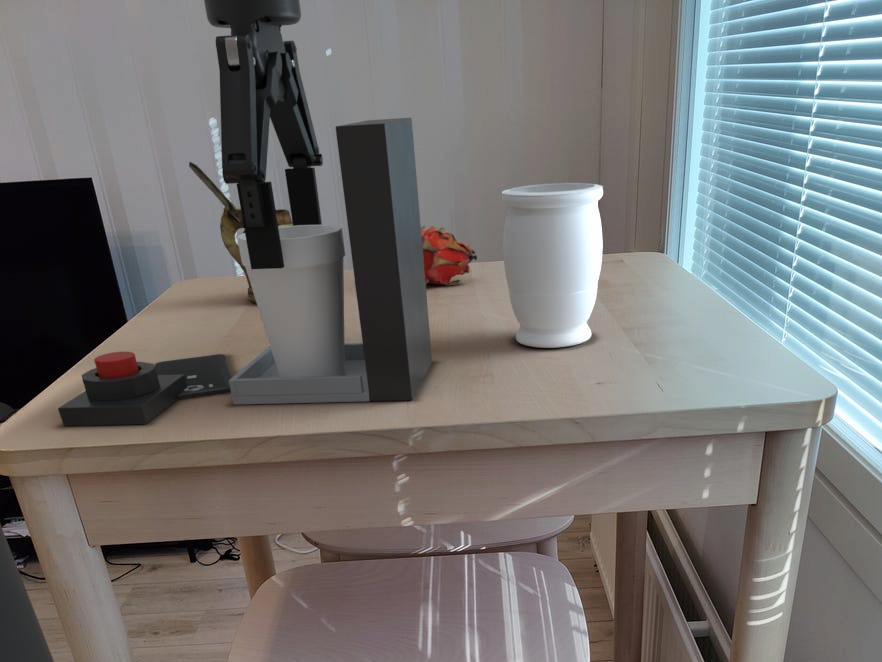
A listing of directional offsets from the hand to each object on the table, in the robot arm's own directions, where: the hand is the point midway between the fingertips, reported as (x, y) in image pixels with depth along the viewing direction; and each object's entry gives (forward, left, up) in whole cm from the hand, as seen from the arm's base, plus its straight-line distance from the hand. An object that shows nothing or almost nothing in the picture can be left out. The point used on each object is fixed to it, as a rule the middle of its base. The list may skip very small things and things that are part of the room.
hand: (290, 255), depth 80 cm
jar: (+24, +14, -12) cm, 30 cm away
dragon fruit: (+6, +49, -12) cm, 51 cm away
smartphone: (-14, +3, -13) cm, 19 cm away
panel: (-16, -7, -12) cm, 21 cm away
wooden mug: (-18, +42, -12) cm, 48 cm away
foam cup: (0, 0, -11) cm, 11 cm away
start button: (-16, -7, -9) cm, 20 cm away
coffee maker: (+3, 0, -12) cm, 12 cm away
